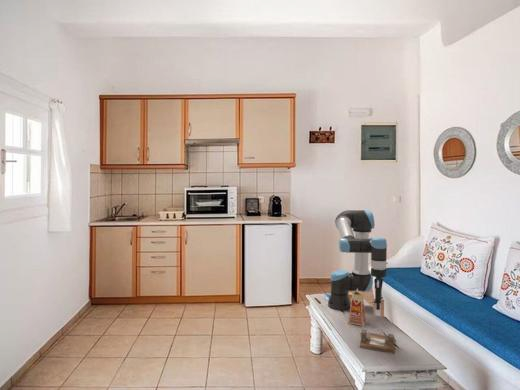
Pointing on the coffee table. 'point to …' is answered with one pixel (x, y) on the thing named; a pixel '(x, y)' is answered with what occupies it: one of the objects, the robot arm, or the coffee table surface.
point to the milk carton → (357, 309)
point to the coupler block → (381, 308)
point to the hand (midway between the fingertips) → (378, 313)
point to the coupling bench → (377, 341)
